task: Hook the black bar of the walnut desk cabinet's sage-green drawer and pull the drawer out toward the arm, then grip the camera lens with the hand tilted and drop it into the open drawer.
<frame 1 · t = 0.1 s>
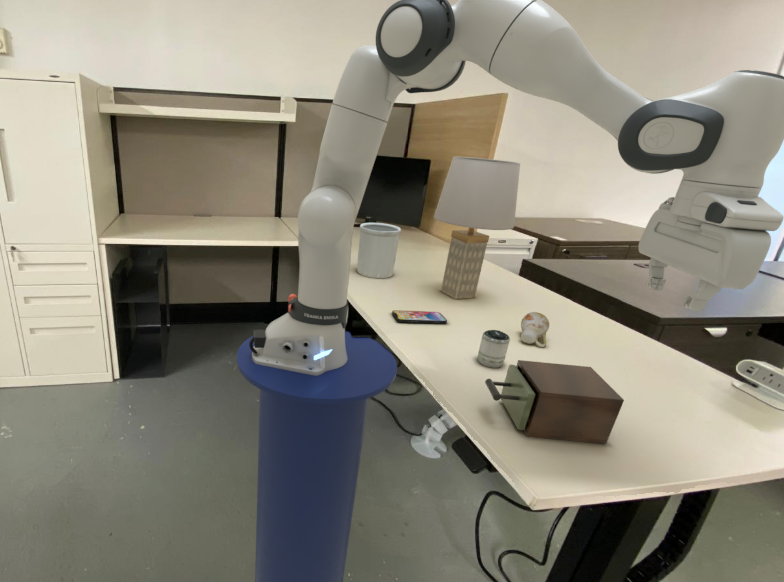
hand: (671, 298, 71), 30 cm above the table, tool pointing down, fingers open, 8 cm apart
cabinet: (553, 420, 92), on the table
lamp: (457, 294, 161), on the table
drawer: (535, 397, 90), point 5 cm above the table, slide at 0.5 cm
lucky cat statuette: (530, 340, 129), on the table
utensil holder: (374, 273, 177), on the table
camera lens: (489, 363, 114), on the table
smartphone: (418, 319, 137), on the table
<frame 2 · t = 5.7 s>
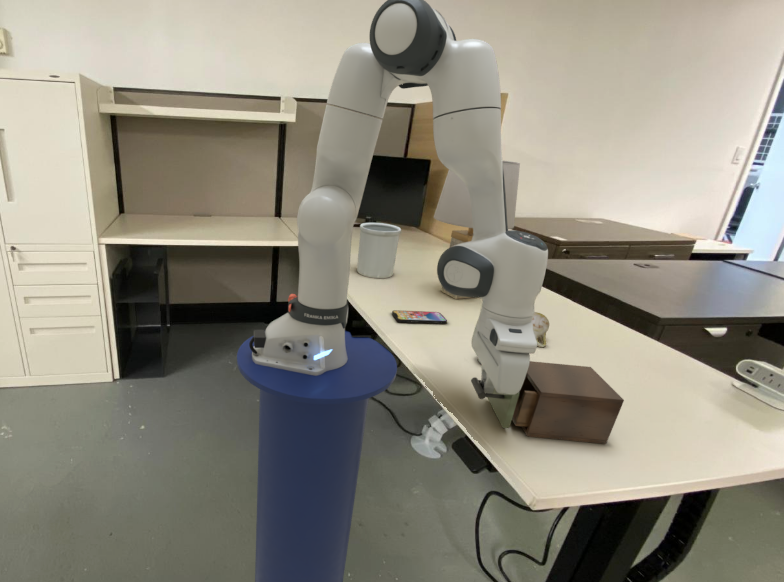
hand: (485, 389, 90), 6 cm above the table, tool pointing down, fingers closed, pressing on drawer
drawer: (521, 396, 90), point 5 cm above the table, slide at 3.3 cm, touching gripper
everything else where it was.
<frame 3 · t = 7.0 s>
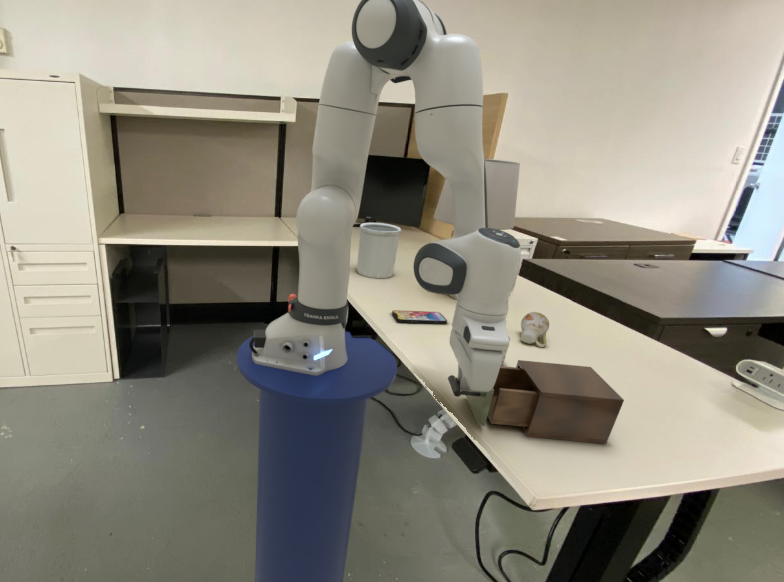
hand: (462, 387, 90), 6 cm above the table, tool pointing down, fingers closed, pressing on drawer
drawer: (497, 394, 90), point 5 cm above the table, slide at 7.9 cm, touching gripper
everything else where it was.
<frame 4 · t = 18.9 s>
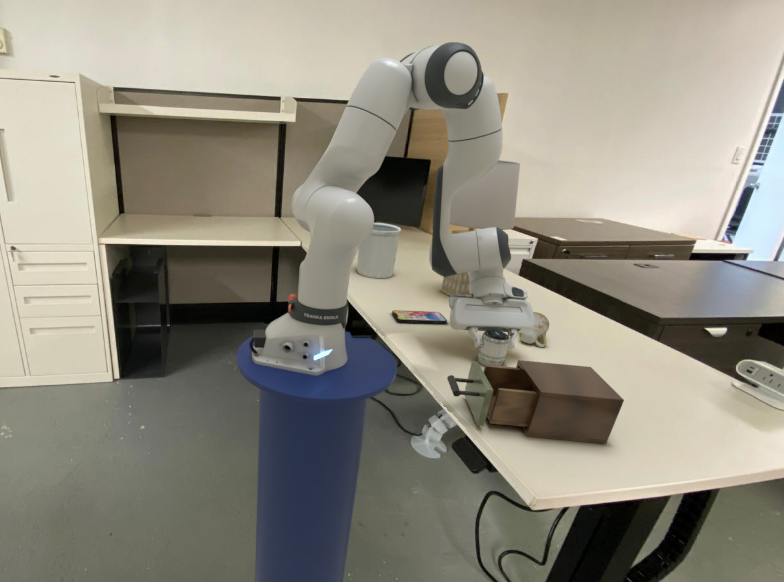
hand: (494, 347, 111), 4 cm above the table, tool tilted 45°, fingers closed on camera lens, 6 cm apart
drawer: (496, 394, 90), point 5 cm above the table, slide at 8.0 cm
camera lens: (489, 363, 114), on the table, touching gripper
everything else where it was.
when the fingers open (11 cm above the table, at t = 27.9 s): camera lens drops 5 cm, resting on drawer.
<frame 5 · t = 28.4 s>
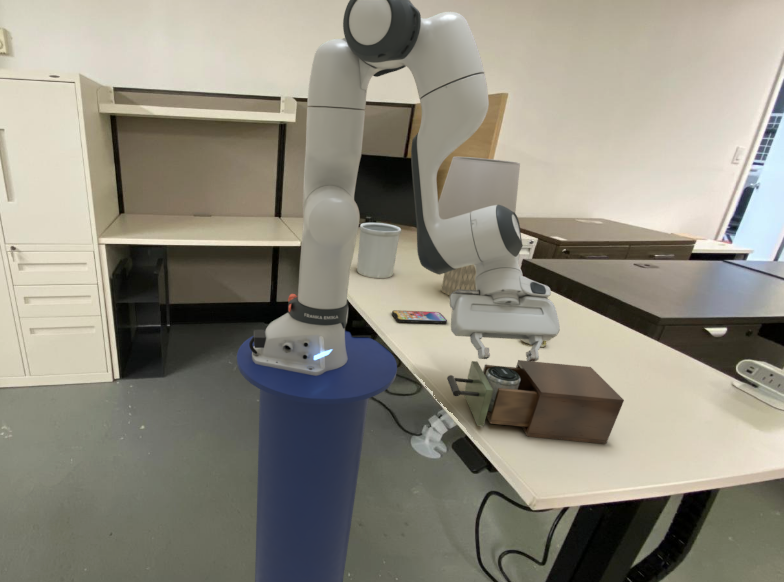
hand: (508, 359, 86), 13 cm above the table, tool tilted 45°, fingers open, 8 cm apart
drawer: (496, 394, 90), point 5 cm above the table, slide at 8.1 cm, touching camera lens
camera lens: (494, 407, 92), point 2 cm above the table, touching drawer
everything else where it was.
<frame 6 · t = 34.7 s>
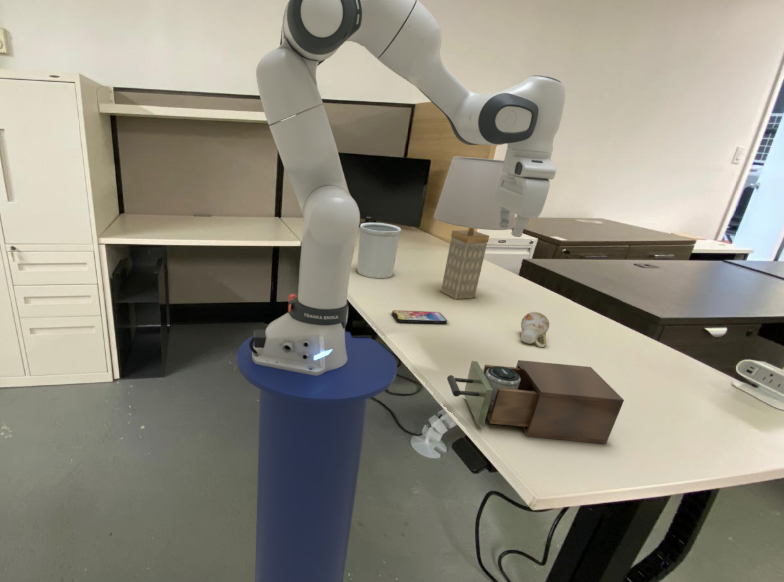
hand: (509, 231, 103), 31 cm above the table, tool pointing down, fingers open, 8 cm apart
nothing on the table moved.
at the end: drawer slide at 8.1 cm; camera lens inside the target area in the drawer (0.1 cm from its centre), point 1.8 cm above the cabinet's base; the gripper is holding nothing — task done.
